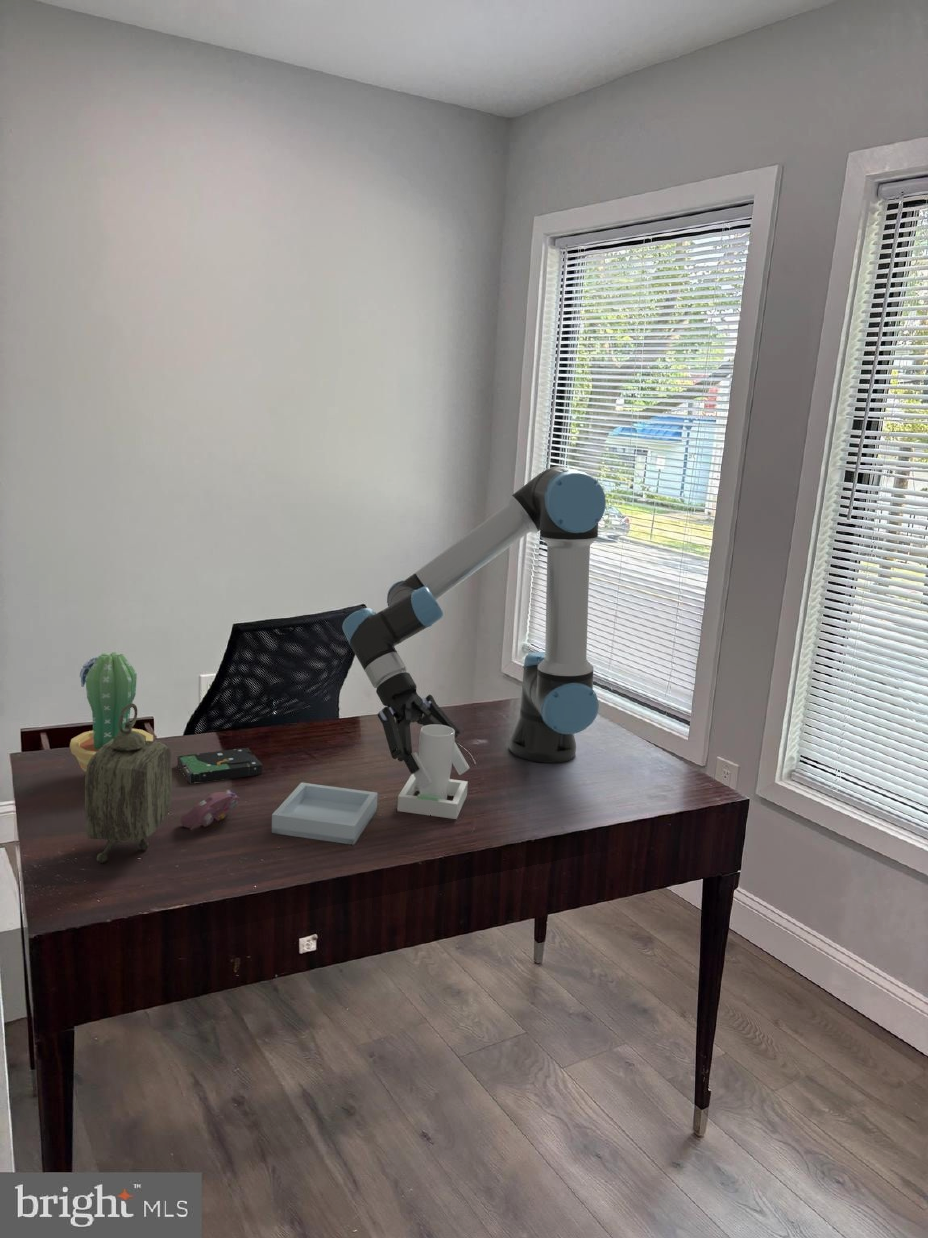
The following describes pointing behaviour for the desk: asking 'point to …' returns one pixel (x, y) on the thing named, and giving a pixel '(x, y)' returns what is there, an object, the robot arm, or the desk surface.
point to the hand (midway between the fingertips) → (446, 778)
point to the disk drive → (219, 765)
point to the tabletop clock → (127, 788)
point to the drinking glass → (437, 757)
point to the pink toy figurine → (210, 809)
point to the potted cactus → (105, 703)
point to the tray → (325, 813)
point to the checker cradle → (432, 799)
